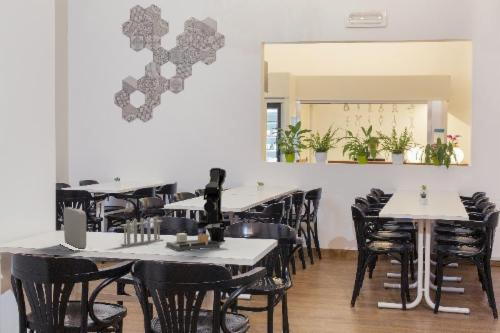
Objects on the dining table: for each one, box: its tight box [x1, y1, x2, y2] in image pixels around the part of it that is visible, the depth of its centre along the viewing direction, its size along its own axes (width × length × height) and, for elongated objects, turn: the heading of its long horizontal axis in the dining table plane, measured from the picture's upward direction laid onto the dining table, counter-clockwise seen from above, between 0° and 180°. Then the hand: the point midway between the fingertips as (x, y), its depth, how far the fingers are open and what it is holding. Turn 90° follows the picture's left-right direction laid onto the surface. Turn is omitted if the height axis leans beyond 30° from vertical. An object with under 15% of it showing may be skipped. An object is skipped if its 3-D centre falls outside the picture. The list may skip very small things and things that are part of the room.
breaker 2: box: [197, 233, 209, 243], centre depth 371 cm, size 4×4×4 cm
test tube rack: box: [120, 216, 164, 247], centre depth 387 cm, size 25×4×13 cm, turn 135°
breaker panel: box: [165, 239, 220, 252], centre depth 373 cm, size 22×18×2 cm
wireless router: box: [63, 206, 93, 252], centre depth 376 cm, size 31×10×20 cm, turn 31°
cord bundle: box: [179, 241, 219, 247], centre depth 366 cm, size 21×2×2 cm, turn 117°
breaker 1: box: [176, 232, 188, 242], centre depth 376 cm, size 4×4×4 cm
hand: (212, 240), depth 373 cm, fingers closed
